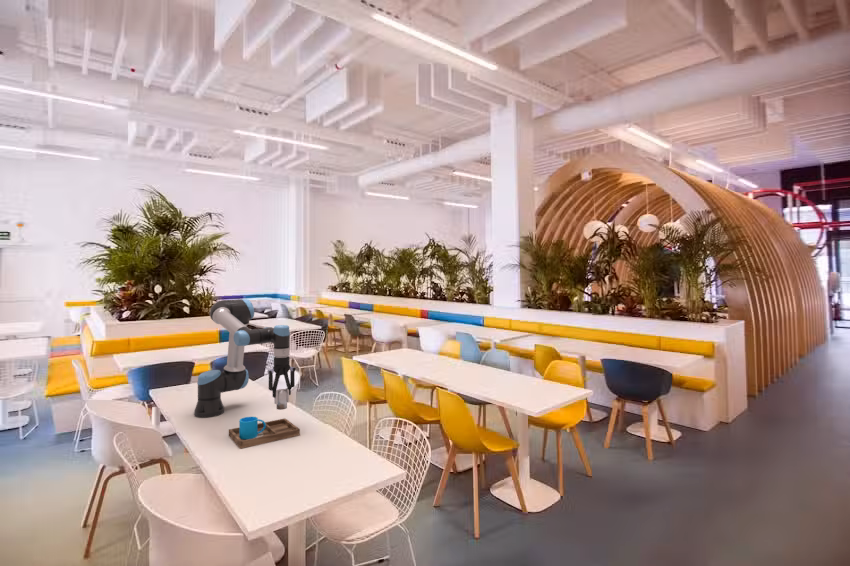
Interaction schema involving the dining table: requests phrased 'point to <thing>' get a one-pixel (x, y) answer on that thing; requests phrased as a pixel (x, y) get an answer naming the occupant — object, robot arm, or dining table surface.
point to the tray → (267, 433)
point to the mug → (249, 427)
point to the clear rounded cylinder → (282, 399)
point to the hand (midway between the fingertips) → (281, 402)
